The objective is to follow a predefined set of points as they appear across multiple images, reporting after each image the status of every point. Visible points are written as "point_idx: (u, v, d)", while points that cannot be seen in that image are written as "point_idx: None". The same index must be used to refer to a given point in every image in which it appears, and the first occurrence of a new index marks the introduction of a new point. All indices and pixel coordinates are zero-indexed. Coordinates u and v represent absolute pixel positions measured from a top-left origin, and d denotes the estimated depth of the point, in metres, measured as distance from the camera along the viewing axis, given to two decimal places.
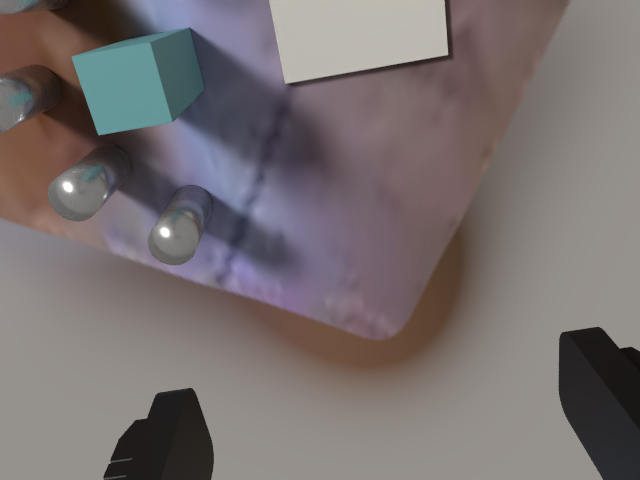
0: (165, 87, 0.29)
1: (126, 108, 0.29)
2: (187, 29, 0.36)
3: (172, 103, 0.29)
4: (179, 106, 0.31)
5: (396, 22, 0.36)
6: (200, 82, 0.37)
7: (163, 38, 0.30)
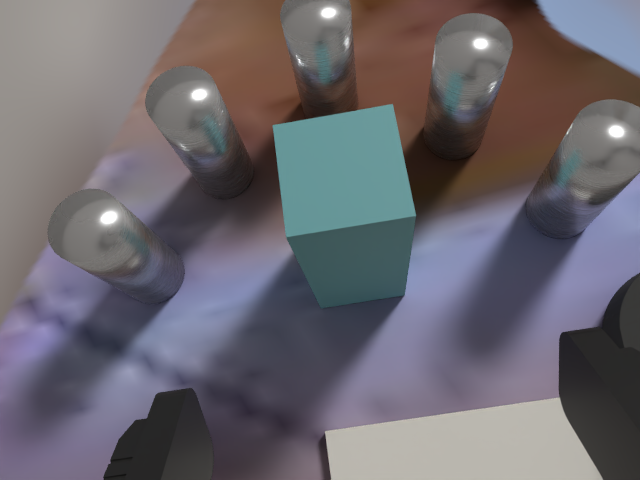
0: (341, 233, 0.17)
1: (312, 170, 0.18)
2: (403, 291, 0.25)
3: (315, 243, 0.18)
4: (307, 257, 0.19)
5: None
6: (331, 302, 0.26)
7: (409, 245, 0.19)
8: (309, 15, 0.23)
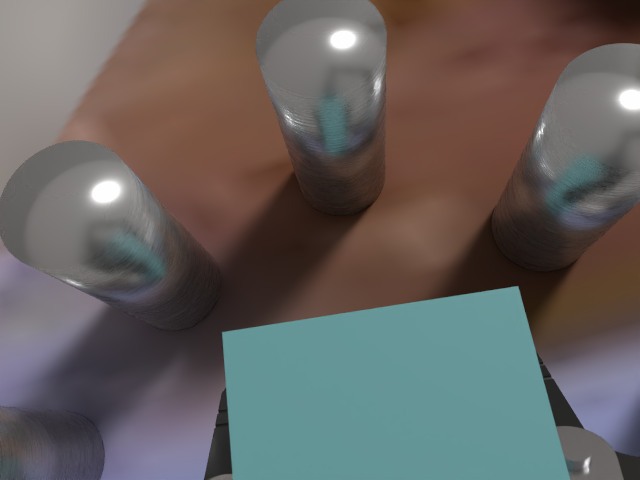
0: None
1: (320, 472, 0.07)
2: None
3: None
4: None
5: None
6: None
7: None
8: (309, 46, 0.13)
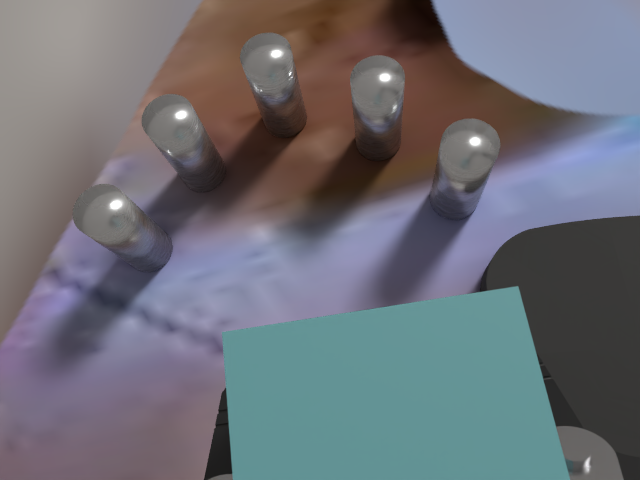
0: None
1: (320, 471, 0.07)
2: None
3: None
4: None
5: None
6: None
7: None
8: (261, 56, 0.32)
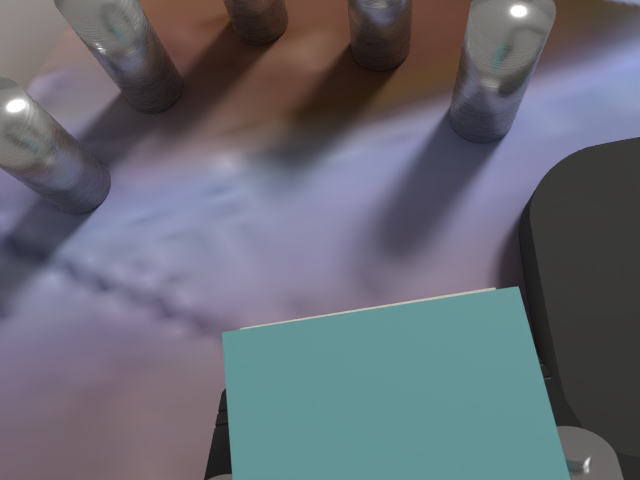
0: None
1: (320, 472, 0.07)
2: None
3: None
4: None
5: None
6: None
7: None
8: None
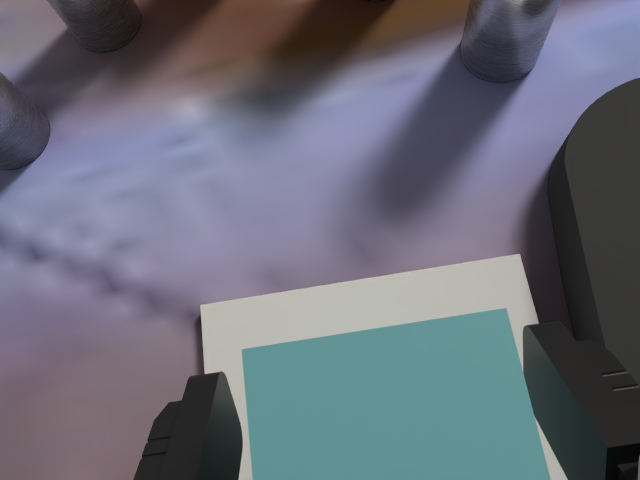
0: None
1: (330, 473, 0.08)
2: None
3: None
4: None
5: None
6: None
7: None
8: None
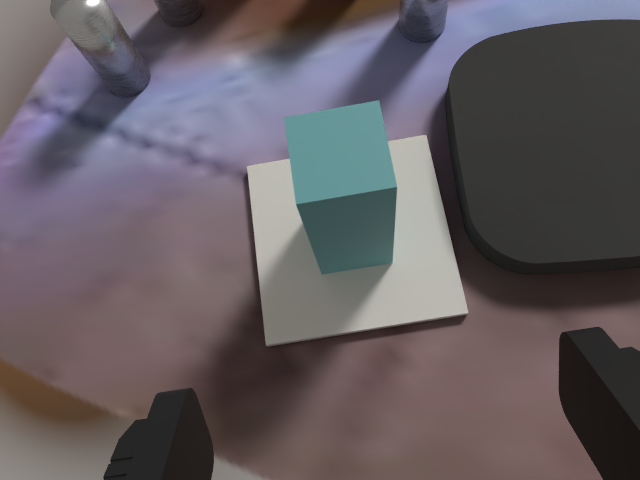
0: (339, 201, 0.22)
1: (316, 152, 0.22)
2: (391, 259, 0.30)
3: (318, 210, 0.23)
4: (312, 223, 0.24)
5: (304, 281, 0.31)
6: (330, 268, 0.30)
7: (394, 213, 0.24)
8: None
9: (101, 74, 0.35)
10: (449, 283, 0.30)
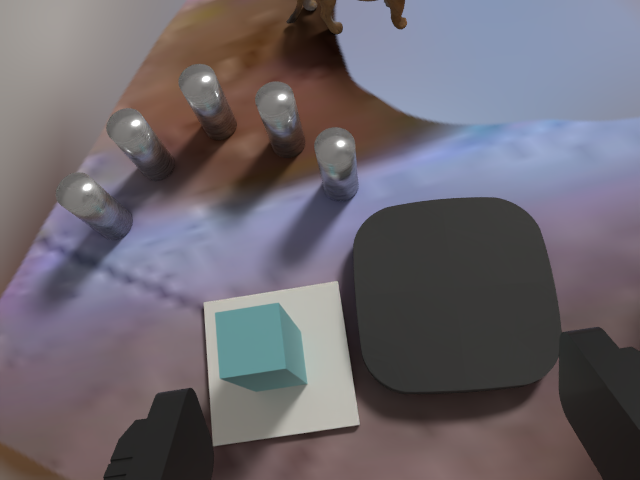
0: (249, 375, 0.33)
1: (234, 340, 0.33)
2: (305, 383, 0.41)
3: (236, 378, 0.34)
4: (235, 381, 0.35)
5: (243, 397, 0.42)
6: (260, 389, 0.41)
7: (292, 373, 0.35)
8: (193, 81, 0.44)
9: (94, 229, 0.46)
10: (347, 401, 0.41)
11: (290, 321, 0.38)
